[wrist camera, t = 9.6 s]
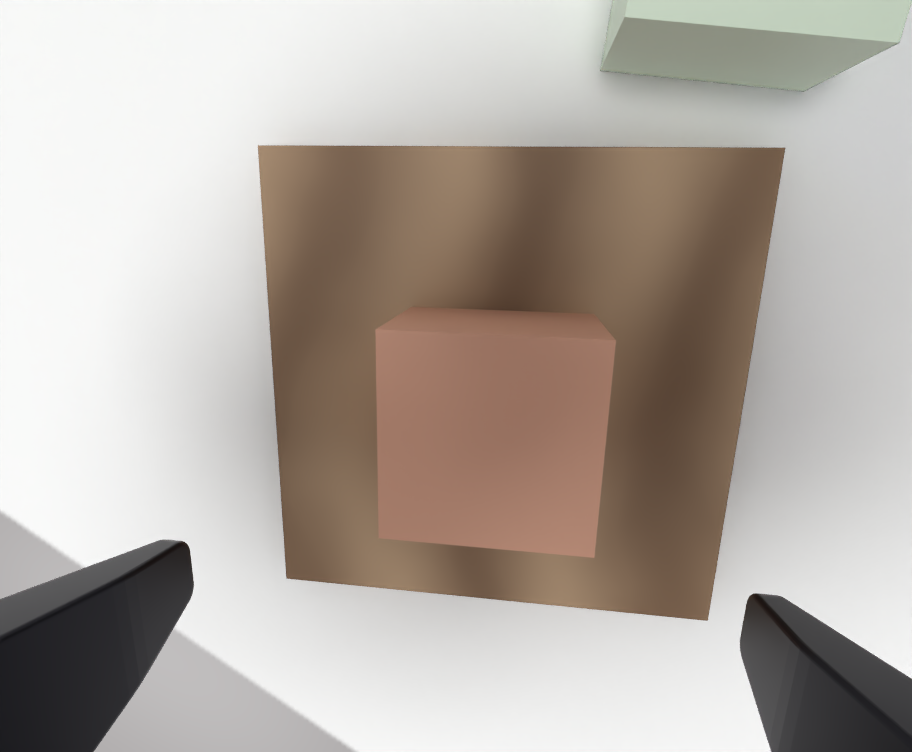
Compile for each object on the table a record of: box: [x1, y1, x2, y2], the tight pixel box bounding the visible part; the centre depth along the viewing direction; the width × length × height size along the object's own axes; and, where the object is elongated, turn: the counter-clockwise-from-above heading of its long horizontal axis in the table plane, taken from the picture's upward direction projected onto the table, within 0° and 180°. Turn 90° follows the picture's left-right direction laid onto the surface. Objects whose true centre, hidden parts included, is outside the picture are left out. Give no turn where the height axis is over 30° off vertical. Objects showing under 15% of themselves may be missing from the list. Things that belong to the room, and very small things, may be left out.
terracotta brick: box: [375, 307, 616, 558], centre depth 17 cm, size 6×6×4 cm
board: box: [258, 146, 785, 621], centre depth 19 cm, size 16×16×1 cm
